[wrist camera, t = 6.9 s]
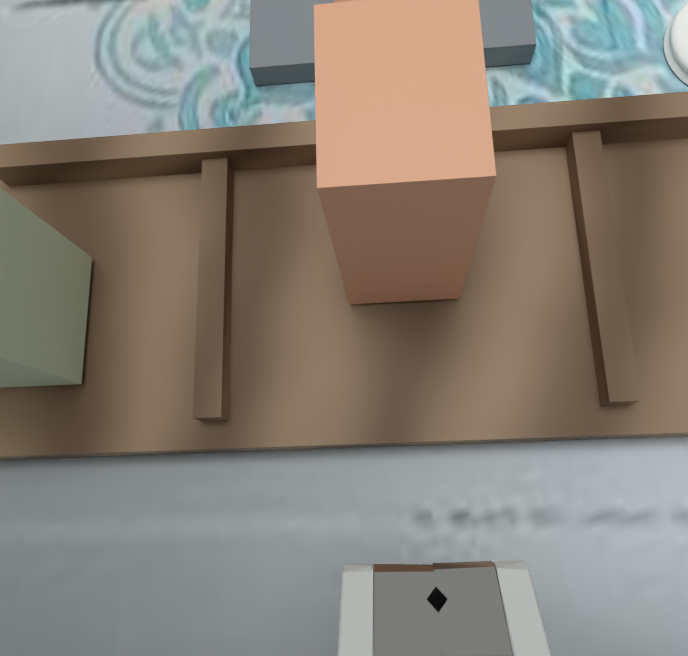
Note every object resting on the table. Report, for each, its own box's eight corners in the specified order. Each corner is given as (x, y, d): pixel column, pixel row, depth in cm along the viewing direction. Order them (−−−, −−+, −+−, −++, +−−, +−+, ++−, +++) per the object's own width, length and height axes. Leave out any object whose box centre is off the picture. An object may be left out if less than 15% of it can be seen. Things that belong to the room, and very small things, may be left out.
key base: (-24, 460, 24) (-81, 455, 21) (11, 183, 27) (-36, 147, 24) (900, 428, 22) (977, 418, 19) (822, 125, 25) (877, 76, 22)
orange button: (256, 85, 28) (247, 61, 26) (257, -25, 29) (249, -54, 28) (530, 63, 27) (538, 36, 25) (516, -50, 28) (523, -81, 27)
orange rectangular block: (349, 304, 23) (316, 187, 14) (345, 181, 24) (313, 4, 15) (459, 298, 22) (496, 175, 14) (449, 173, 24) (477, -11, 15)
